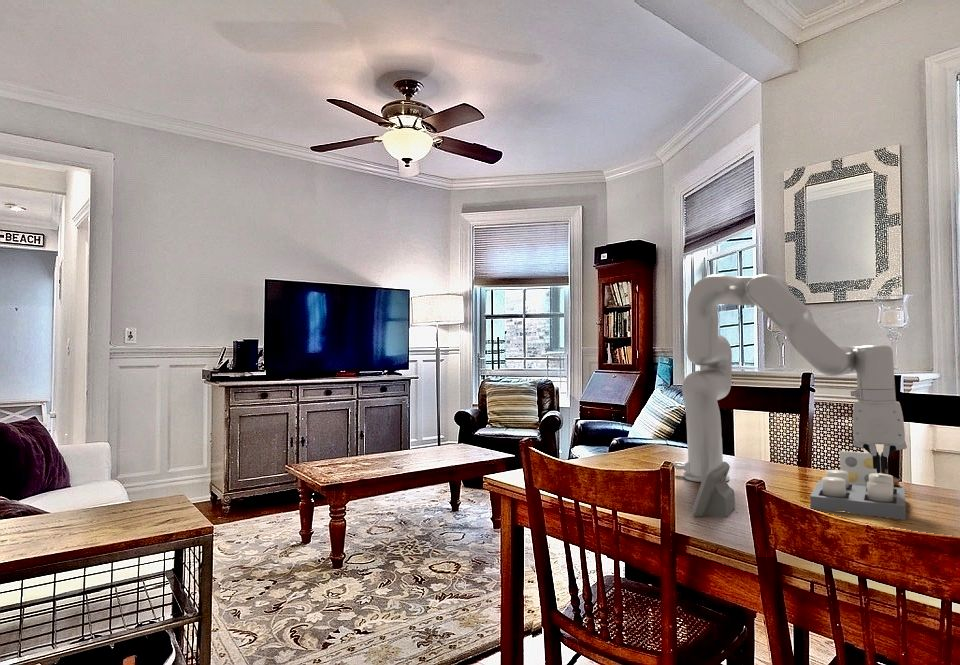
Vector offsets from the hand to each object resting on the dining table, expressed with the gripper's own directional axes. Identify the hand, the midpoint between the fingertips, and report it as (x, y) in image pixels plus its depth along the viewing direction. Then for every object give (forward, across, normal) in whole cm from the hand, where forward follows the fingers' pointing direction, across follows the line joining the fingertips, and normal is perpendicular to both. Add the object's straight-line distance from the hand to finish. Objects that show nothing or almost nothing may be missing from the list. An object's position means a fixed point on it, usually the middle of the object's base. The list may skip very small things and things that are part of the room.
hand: (881, 472), depth 138 cm
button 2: (+4, -9, 0) cm, 10 cm away
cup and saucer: (+8, -3, +20) cm, 21 cm away
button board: (+7, -5, -4) cm, 10 cm away
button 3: (+4, 0, -9) cm, 10 cm away
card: (+7, -5, +10) cm, 13 cm away
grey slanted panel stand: (+8, -33, -25) cm, 42 cm away
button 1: (+4, -9, -9) cm, 14 cm away
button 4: (+4, 0, 0) cm, 4 cm away
